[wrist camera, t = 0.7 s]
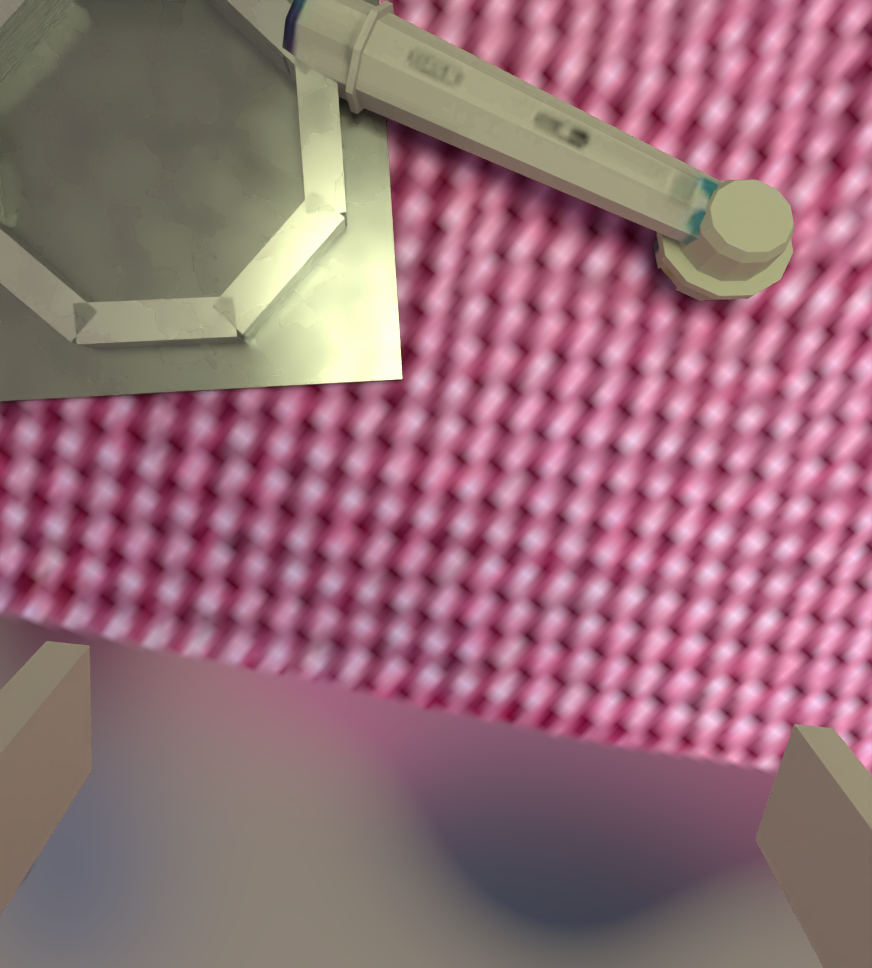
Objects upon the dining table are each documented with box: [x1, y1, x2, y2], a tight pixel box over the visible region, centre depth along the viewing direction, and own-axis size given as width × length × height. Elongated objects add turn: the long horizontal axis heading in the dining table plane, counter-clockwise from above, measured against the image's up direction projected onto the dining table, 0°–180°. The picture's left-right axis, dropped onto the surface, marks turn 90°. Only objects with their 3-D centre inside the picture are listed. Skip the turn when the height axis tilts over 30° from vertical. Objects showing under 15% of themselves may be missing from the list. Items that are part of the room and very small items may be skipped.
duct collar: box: [0, 0, 402, 402], centre depth 34 cm, size 22×22×3 cm
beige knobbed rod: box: [281, 0, 794, 301], centre depth 35 cm, size 5×7×25 cm
